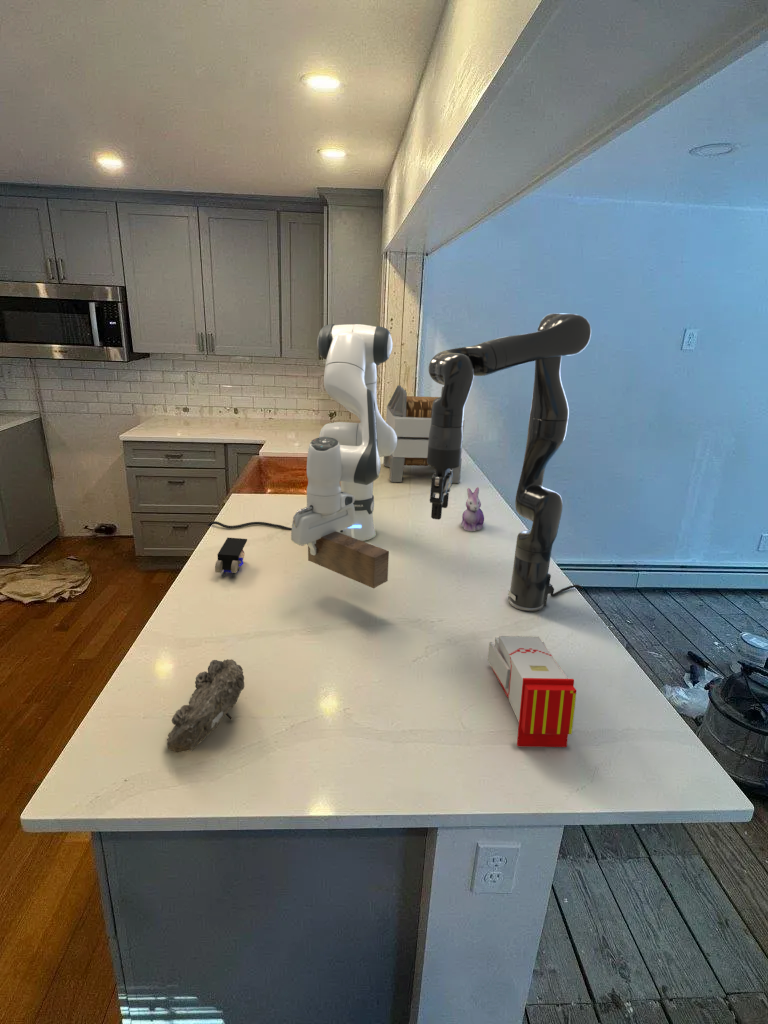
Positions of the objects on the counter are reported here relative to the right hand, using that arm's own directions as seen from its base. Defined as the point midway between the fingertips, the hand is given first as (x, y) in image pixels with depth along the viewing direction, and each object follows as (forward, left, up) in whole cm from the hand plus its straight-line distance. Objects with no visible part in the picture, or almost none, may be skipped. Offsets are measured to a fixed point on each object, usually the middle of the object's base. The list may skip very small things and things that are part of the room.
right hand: (439, 512), depth 132 cm
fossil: (+54, +19, -30) cm, 65 cm away
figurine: (-44, -59, -30) cm, 79 cm away
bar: (+18, -16, -20) cm, 31 cm away
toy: (-6, +32, -30) cm, 44 cm away
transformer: (-53, -130, -30) cm, 144 cm away
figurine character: (+44, -45, -30) cm, 70 cm away
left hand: (+22, -23, -17) cm, 36 cm away
